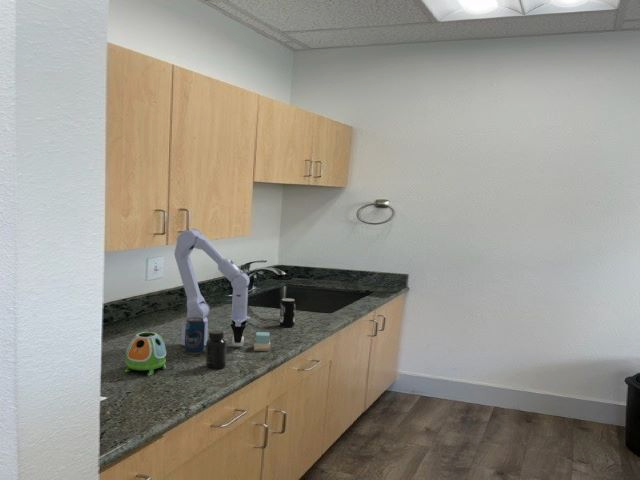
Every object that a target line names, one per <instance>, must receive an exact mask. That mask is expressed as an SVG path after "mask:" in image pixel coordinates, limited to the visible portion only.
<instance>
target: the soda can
mask: <svg viewBox="0 0 640 480" xmlns="http://www.w3.org/2000/svg"><path fill="white" fill-rule="evenodd" d="M185 322H186V323H185V324H186V325H185V346H184V350H185V351H186V353H188V354H194V355H195V354H201V353H202V352H203V351H204V350H205V346H204V335H205V323H204V321H203V319H202V318H189V319H188V318H187V321H185Z"/></svg>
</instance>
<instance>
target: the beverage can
mask: <svg viewBox="0 0 640 480" xmlns="http://www.w3.org/2000/svg"><path fill="white" fill-rule="evenodd" d="M279 307H280V311H279V326H280V327H282V328H292V327H294V326H295V320H296V317H295V316H296V301H295V299H294V298H289V297H288V298H287V297H284V298H282V299H281V301H280V306H279Z"/></svg>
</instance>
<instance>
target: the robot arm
mask: <svg viewBox="0 0 640 480" xmlns="http://www.w3.org/2000/svg"><path fill="white" fill-rule="evenodd" d="M194 249H197V250H201V251H203V252H204V253H206V255H207V256H208V257H210V258H211V260H212V261H214V262H215V263H216V264H217V270H218V271H219V272H220V273H221V274H222V275H223V276H224V277H225V278H226V279H227V280H228V282H230V284H231V285H230V286H231V287H232V298H231V299H232V300H231V301H232V302H231V316H230V320H231V324H230V328H231V329H232V333H233V336H234V341H235V343H241V339H242V336H243V335H244V331H245V330H246V329H245V328H247V320H250V318H251V317H250V316H248V315H247V314H248V301H249V298H248V297H249V294H248V292H249V289H248V286H249V284H250V277H249V275H248V274H247V273H245V272H244V271H243V270H242V269H240V268H239V267H238V266H237V265H236V264H235V260H233V259H232V260H231V259H230V258H225V257H224V256H223V255H222V254H221V253H220V252H219V250H218V249H217V248H216V247H215V246H214V245H213V244H212V242H211V241H210V240H209V239H208V238H207V236H206V235H205V234H204V233H202V232H201V231H200V229H198V228H191V229H185V230H183V231H182V232H180V234H179V235H178V236H177V238H176V245H175V249H174V252H173V254H174V258H175V261H176V264H177V265H176V266H177V268H178V269H177V270H178V272H179V274H180V278H181V282H182V284H183V289H184V292H185V295H186V298H187V299H186V300H187V301H186V308H187V313H186V316H187V319H189V318H202V319H203V321H204V323H205V335H204V347H206V342H207V340H208V328H209V326H208V324H209V323H208V322H209V320H208V319H209V318H208V316H209V315H210V311H211V310H210V309H211V308H210V306H209V304H208V303H207V302H206V300H205V298H204V297H203V295H202V294H201V290H200V288H199V287H200V286H199V284H198V280H197V276H196V274H195V271H194V266H193V263H192V260H191V257H190V255H191V253H192V252H193V250H194ZM185 325H186V323H184V324H183V325H182V326H181V330H180V331H181V333H180V334H181V336H180V337H181V338H180V343H179V345H181V346H184V347H185Z"/></svg>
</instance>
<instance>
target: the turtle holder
mask: <svg viewBox="0 0 640 480" xmlns="http://www.w3.org/2000/svg"><path fill="white" fill-rule="evenodd" d="M166 348H167V347H166V345H165V342H164V339H163V336H162V335H160V334H159V333H157V332H154V331H142V332H139V333H136V334H135V337H134V338H132V339H131V341H130V343H129V345H128V346H127V349H126V352H125V365H126V367H127V368H126V369H125V373H130V372H132V370H134V371H148V372H147V375H146V376H148V377H151V376H153V375H154V374H155V373H154V372H155V370H156V369H159V368H161V370H162V369H164V370H166V369H167V366H166V362H167V360H166V355H167V349H166ZM150 375H151V376H150Z"/></svg>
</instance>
